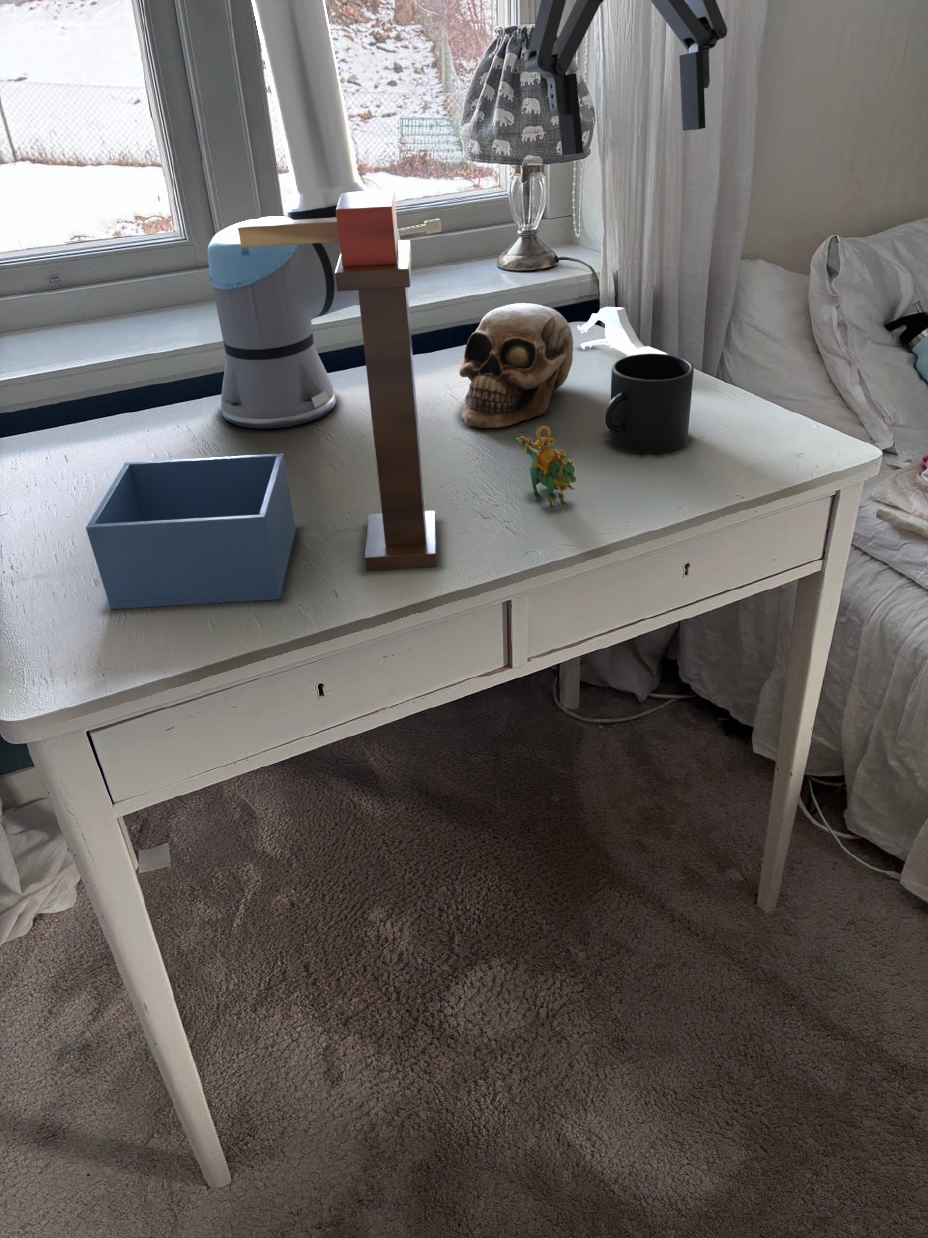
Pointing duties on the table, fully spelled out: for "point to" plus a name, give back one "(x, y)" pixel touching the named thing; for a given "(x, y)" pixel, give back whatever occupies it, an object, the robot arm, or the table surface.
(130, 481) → the tub
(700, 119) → the robot arm
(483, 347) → the tan skull model
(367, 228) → the mallet
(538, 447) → the figurine
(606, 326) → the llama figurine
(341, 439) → the table surface
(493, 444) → the table surface
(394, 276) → the stand
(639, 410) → the mug
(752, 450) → the table surface
